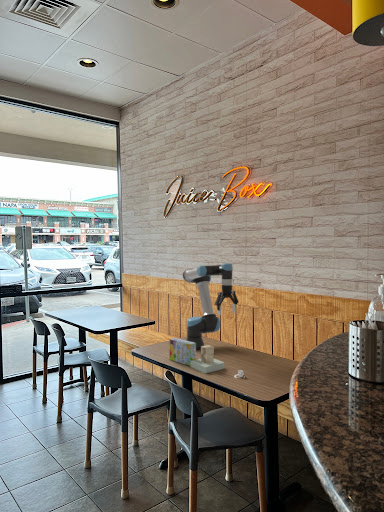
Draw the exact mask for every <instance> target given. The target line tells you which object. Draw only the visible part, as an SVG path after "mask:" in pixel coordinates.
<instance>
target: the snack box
mask: <svg viewBox="0 0 384 512" xmlns="http://www.w3.org/2000/svg"><path fill="white" fill-rule="evenodd" d="M169 360H170V361H172V362H176V363H180V364H182V365H186V366H190V367H191V361H192V360H197V350H196V343H194V342H190V341H186V340H185V339H181V338H177V337H172V338H169Z"/></svg>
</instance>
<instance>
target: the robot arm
mask: <svg viewBox="0 0 384 512" xmlns="http://www.w3.org/2000/svg"><path fill="white" fill-rule="evenodd" d="M213 276H214V277H215V276H221V284H222V285H221V290H222V291H219V292H218V295H217V298H216V300H215V303H214V306H216V310H217V314H216V313H214V309H213V303H212V299H211V293H210V288H209V285H210V282H211V281H212V277H213ZM182 279H183V280H184V282H186V283H190V284H191V283H194V284H195V286H196V287H197V288H198V289H197V290H198V295H199V299H200V306H201V310H202V316H191V317H189V318H187V320H186V338H185V339H186V341H190V342H194V343H196V351H198V350H201V346H205V343H204V340H203V334H210V333H211V334H212V333H216V332H217V333H218V332H219V330H220V328H221V320H220V318H219V317H218V316H222V306H221V305H222V303H223V302H224V300H225V299H227V298H229V299H230V300H231V302H232V306H231V307H232V308H231V309H232V313H233V314H236V312H237V311H236V309H237V305H238V304H239V299H238V296H237V294H236V290H233V264H232V263H229V262H227V263H225V262H224V263H222V264H215V265H198V266H197V267H196V268H189V269H185V270H184V271H183V272H182ZM217 315H218V316H217Z"/></svg>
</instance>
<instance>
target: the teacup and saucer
mask: <svg viewBox="0 0 384 512" xmlns="http://www.w3.org/2000/svg"><path fill="white" fill-rule="evenodd" d="M237 372H238V373H237V374H234V376H233V377H234V378H235V379H237V378H244V376H243V375H245V372H244V370H242V369H239V370H238V369H237ZM237 376H238V377H237Z"/></svg>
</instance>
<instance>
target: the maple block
mask: <svg viewBox="0 0 384 512" xmlns="http://www.w3.org/2000/svg"><path fill="white" fill-rule="evenodd" d="M214 349H215V347H214V346H212V345H209V344H207V345H204V346H201V349H200V359H201V362H204V363H206V364H208V363H212V362H214V359H215V356H214V355H215V350H214Z"/></svg>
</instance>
